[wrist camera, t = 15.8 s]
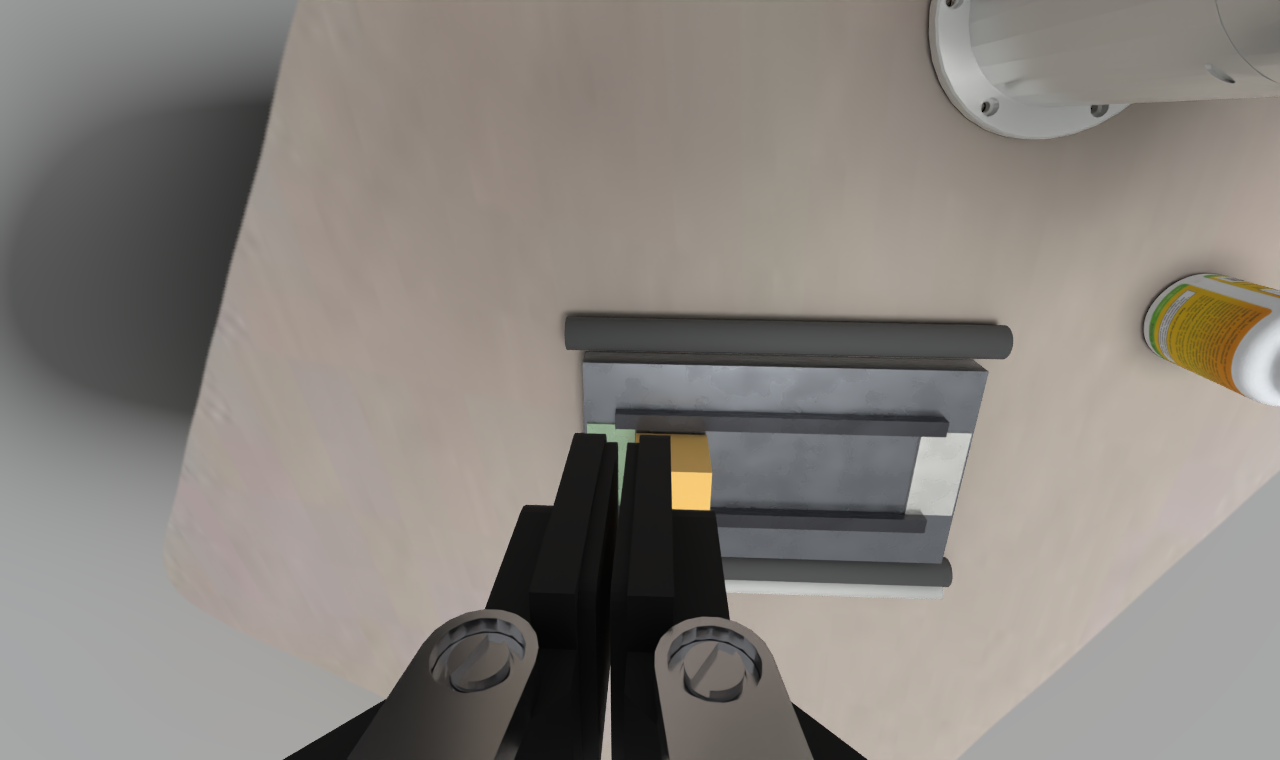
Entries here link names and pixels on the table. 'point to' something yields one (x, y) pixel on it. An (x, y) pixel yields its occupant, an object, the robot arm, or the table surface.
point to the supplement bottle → (1221, 333)
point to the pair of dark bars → (805, 341)
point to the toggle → (689, 471)
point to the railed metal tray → (805, 444)
